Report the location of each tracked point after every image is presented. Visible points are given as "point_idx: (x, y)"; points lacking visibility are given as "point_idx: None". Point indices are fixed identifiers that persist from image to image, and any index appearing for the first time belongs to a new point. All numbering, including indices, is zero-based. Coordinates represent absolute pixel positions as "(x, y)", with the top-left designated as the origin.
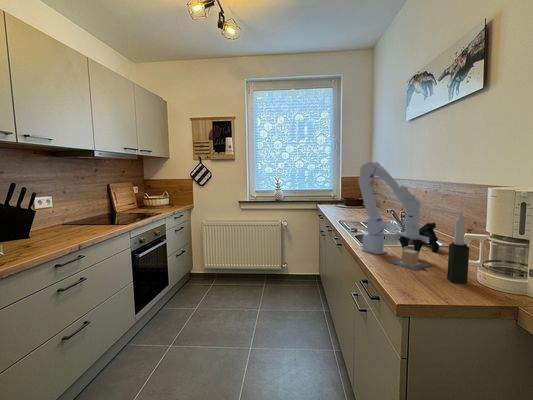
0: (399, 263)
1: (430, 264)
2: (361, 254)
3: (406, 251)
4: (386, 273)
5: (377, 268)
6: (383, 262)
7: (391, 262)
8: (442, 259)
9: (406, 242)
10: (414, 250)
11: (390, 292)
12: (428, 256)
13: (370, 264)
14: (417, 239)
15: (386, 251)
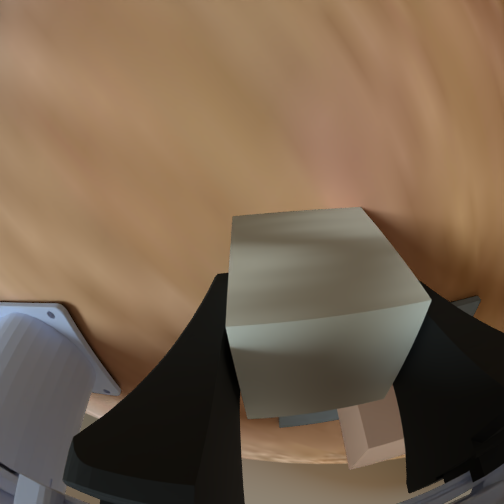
0: (334, 413)
1: (477, 302)
2: (103, 414)
3: (375, 461)
4: (345, 451)
5: (299, 454)
6: (261, 431)
7: (295, 425)
8: (499, 57)
9: (229, 439)
10: None
11: (394, 458)
12: (389, 31)
13: (252, 454)
14: (467, 484)
15: (67, 322)
